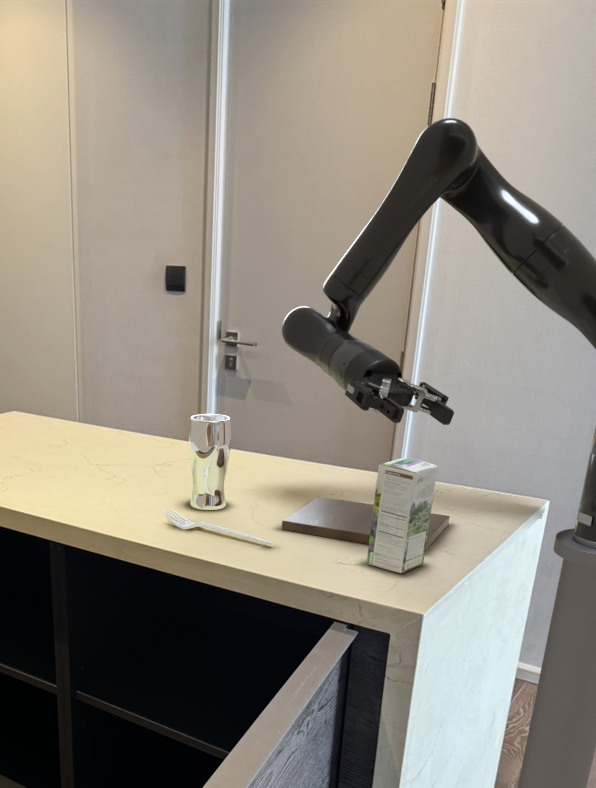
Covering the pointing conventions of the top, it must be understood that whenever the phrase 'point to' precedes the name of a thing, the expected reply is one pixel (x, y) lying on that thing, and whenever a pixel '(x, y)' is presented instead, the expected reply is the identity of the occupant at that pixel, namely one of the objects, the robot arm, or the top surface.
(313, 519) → the walnut board
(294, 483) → the top surface
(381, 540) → the syrup box
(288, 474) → the top surface
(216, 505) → the beer glass
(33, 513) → the top surface
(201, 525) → the fork
